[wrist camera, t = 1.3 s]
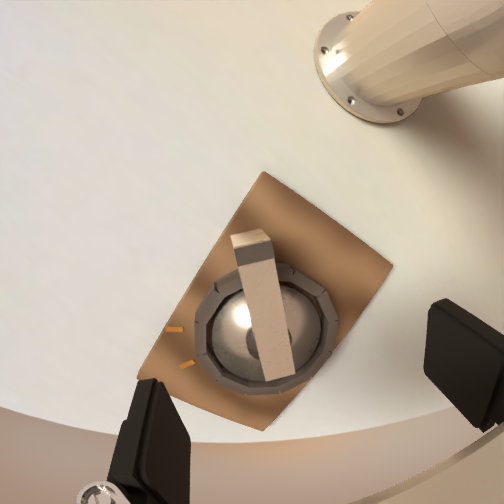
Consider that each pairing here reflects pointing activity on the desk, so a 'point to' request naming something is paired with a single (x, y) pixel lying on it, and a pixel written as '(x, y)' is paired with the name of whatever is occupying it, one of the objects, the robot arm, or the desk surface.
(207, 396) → the dial base
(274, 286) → the dial
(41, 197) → the desk surface
